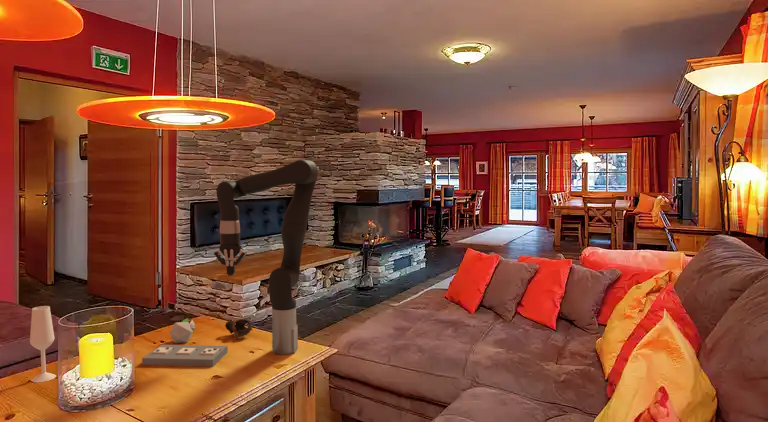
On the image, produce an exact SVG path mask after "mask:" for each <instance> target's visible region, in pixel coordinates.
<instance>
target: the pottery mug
mask: <svg viewBox="0 0 768 422" xmlns="http://www.w3.org/2000/svg"><path fill="white" fill-rule="evenodd" d="M247 324H248V326H247V327H246V326H245V325H247ZM224 326H225V328H226V330H227V331H228V332H229V333H230V335H231V334H233V333H234V334H233V339H235V340H238V339H239V338H242V337H244V336H247V335H248V334H250V333H251V332H252V331H253V328H252V324H251V322H250V321H249V319H245V318H237V319H235V320H234V321H231V320H230V321H229V320H228V321H227V322H225V325H224Z"/></svg>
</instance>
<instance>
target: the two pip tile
mask: <svg viewBox="0 0 768 422" xmlns="http://www.w3.org/2000/svg"><path fill="white" fill-rule="evenodd" d="M158 347H159V346H158ZM158 347H157V348H158ZM154 350H155V349H154ZM172 350H173V348H169V347H159V348H158V349H157V350H155V351H154V352H153V354H168V353H169V352H171V351H172Z"/></svg>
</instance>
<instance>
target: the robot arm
mask: <svg viewBox="0 0 768 422" xmlns="http://www.w3.org/2000/svg"><path fill="white" fill-rule="evenodd" d="M318 176H319V169H318V167H317V164H316V163H315V162H314V161H312V160H309V159H297V160H295V161H294V162H291V163H287V164H286V165H284V166H282V167H279V168H276V169H273V170H269V171H264V172H261V173H260V172H259V173H255V174H251V175H247V176H244V177H242V178H241V179H240V178H239V179H236V180H224V181H220V182H219V183H218V184H217V187H216V191H215V192H216V197H217V198H216V199H217V203H218V206H219V211H220V213H219V214H220V215H219V217H220V218H219V219H220V222H219V223H220V224H219V236H220V237H219V243H220V244H219V248H218V250H216V251H214V252H213V255H214V256H215V258H216V259H217V260H218V261H219V263H220V264H221V265H222V266H223V265H224V266H225V267H226V274H227V275H228V277H229V276H232V277H233V276H234V274H235V273H236V266H237V265H239V264H240V263H241V262H242V261H243V259H244V258H245V256H246V255H248V253H247V251H244V250H243V248H242V246H241V223H240V208H239V206H238V205H236V204H235V200H234V199H238V198H242V197H246V196H247V195H254V194H256V193H257V194H258V193H261V192H265V191H267V190H271V189H272V188H275V187H279V186H283V185H292V184H293V185H294V184H295V185H294V191H293V194H292V197H291V200H290V202H289V203H288V205H287V208H286V210H285V213H284V216H283V219H282V226H281V232H280V233H281V241H282V246H283V255H282V260H281V263H280V265H279V266H280V267H278V268H274V269H273V270H272V271H271V272H270V274H269V277H268V288H269V289H268V291H269V301H270V304H271V339H272V341H271V342H272V348H271V349H272V353H273V354H276V355H289V354H295V353H296V351H297V350H298V348H299V345H298V344H299V343H298V340H299V337H298V334H299V333H298V331H299V329H298V326H299V325H298V324H297V300H296V298H293V294H292V292H293V291H292V289H293V288H294V287H295V286H296V285H297V284H298V281H299V280H300V271H301V270H300V269H301V260H302V259H301V257H302V254H303V253H302V252H303V248H304V244H305V243H304V242H305V238H306V232H307V227H308V222H309V216H310V210H311V202H312V201H311V200H312V198H313V197H312V196H313V193H314V189H315V187H316V186H315V185H316V182H317V179H318ZM238 255H239V256H238ZM237 257H238V258H237Z"/></svg>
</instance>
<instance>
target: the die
mask: <svg viewBox="0 0 768 422" xmlns="http://www.w3.org/2000/svg"><path fill="white" fill-rule="evenodd" d="M193 333H194V330H193V331H192V329H191V327H190V324H189V322H182V321H181V322H180V321H179V322H174V324H173V325H172V327H171V329H170V331H169V335H170V337H171V339H172V342H173V343H174V344H178V343H179V344H182V343H188V342H189V340H190V339H191V336H192V334H193Z"/></svg>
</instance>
